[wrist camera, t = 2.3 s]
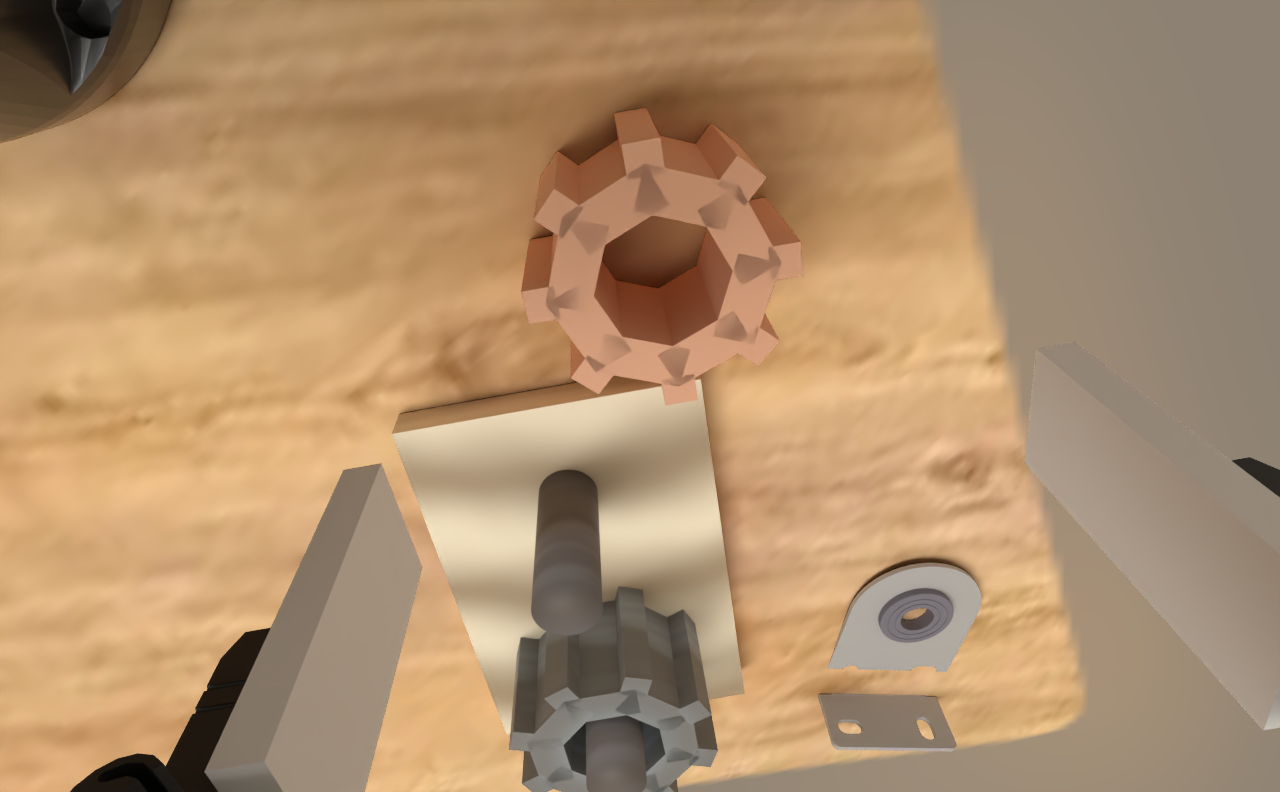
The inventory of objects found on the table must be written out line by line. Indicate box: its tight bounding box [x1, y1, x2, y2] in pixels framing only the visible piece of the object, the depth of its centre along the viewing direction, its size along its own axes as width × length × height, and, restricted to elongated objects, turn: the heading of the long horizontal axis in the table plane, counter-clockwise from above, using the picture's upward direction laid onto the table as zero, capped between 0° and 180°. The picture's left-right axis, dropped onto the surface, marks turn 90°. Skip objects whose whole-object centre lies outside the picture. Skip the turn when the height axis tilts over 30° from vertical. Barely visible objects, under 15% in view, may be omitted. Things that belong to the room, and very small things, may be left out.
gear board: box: [392, 375, 744, 792], centre depth 32 cm, size 18×12×8 cm, turn 9°
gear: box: [521, 108, 803, 406], centre depth 26 cm, size 8×8×5 cm
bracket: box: [818, 563, 981, 751], centre depth 38 cm, size 7×10×4 cm, turn 173°
